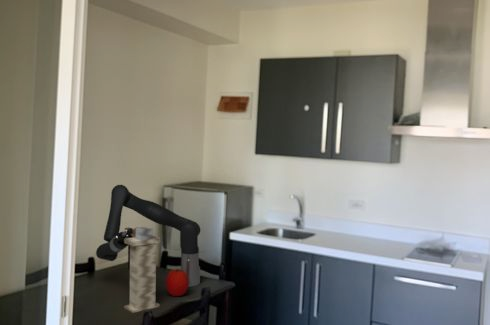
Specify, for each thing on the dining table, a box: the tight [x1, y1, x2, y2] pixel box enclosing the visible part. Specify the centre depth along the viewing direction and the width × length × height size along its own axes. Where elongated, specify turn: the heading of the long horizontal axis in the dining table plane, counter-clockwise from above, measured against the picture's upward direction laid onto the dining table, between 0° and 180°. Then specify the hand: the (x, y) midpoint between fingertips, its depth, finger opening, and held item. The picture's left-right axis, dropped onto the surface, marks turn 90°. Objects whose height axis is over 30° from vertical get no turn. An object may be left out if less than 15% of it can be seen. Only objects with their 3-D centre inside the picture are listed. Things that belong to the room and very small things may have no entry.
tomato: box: [165, 268, 189, 297], centre depth 256 cm, size 12×12×13 cm
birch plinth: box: [123, 235, 161, 314], centre depth 238 cm, size 14×8×32 cm, turn 130°
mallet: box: [124, 226, 154, 241], centre depth 240 cm, size 6×19×5 cm, turn 40°
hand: (134, 229), depth 242 cm, fingers closed on mallet, 2 cm apart
